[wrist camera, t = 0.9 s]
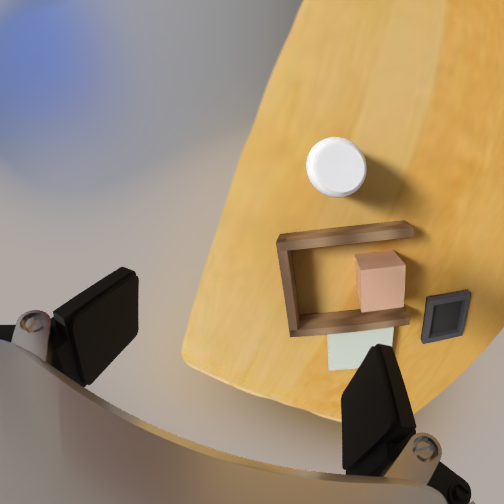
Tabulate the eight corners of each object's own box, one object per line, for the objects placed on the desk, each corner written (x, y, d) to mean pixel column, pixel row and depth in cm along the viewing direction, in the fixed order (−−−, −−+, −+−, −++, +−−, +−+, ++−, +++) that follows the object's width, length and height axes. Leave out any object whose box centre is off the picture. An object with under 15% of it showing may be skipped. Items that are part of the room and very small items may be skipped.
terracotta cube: (393, 249, 29) (405, 264, 25) (393, 287, 31) (403, 306, 26) (354, 254, 31) (360, 270, 26) (355, 292, 32) (361, 312, 27)
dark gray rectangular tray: (467, 289, 28) (470, 293, 27) (459, 330, 30) (462, 335, 29) (426, 296, 30) (429, 301, 29) (420, 339, 32) (422, 343, 31)
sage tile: (392, 311, 32) (394, 317, 30) (387, 357, 34) (389, 363, 32) (326, 319, 34) (326, 325, 33) (328, 363, 36) (328, 370, 35)
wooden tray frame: (404, 220, 28) (413, 227, 25) (402, 310, 31) (409, 324, 28) (279, 234, 32) (275, 242, 29) (292, 321, 35) (290, 337, 32)
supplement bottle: (300, 151, 28) (294, 145, 19) (344, 136, 27) (359, 124, 18) (317, 196, 29) (319, 211, 20) (361, 181, 28) (383, 190, 19)
